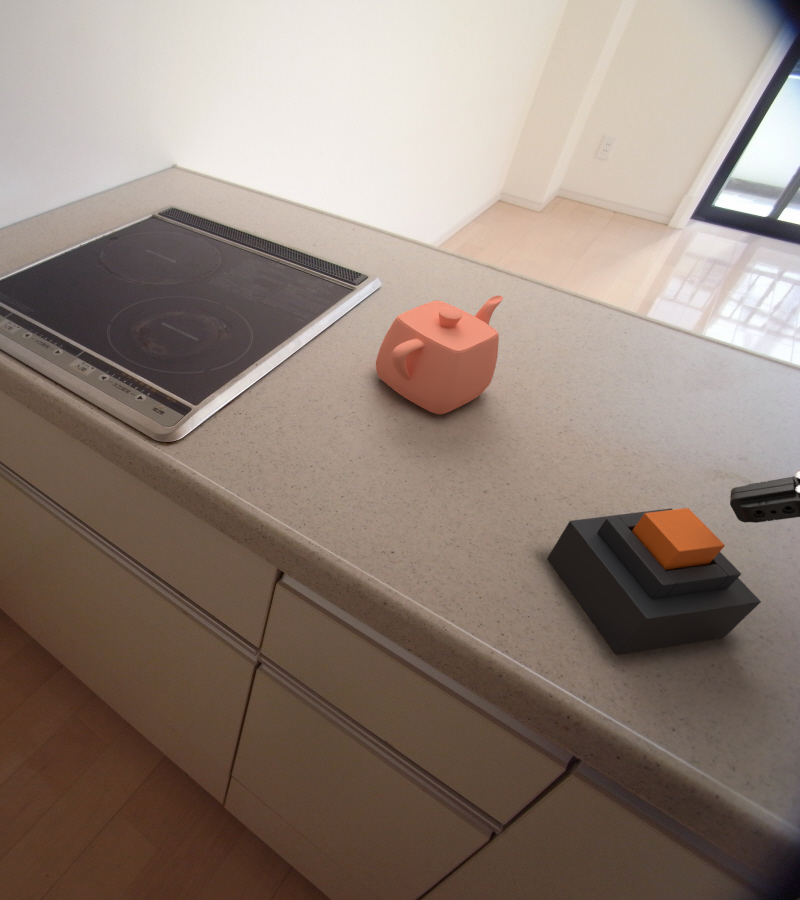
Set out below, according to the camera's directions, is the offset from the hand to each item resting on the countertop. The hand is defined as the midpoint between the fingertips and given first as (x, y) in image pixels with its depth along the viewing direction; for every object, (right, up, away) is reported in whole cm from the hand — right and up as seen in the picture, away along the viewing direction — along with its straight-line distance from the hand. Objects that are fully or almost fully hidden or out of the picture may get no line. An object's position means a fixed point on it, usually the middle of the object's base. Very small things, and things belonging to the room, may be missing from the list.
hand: (734, 506), depth 47 cm
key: (-1, -4, +5) cm, 6 cm away
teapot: (-11, +12, +32) cm, 36 cm away
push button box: (-2, -9, +9) cm, 13 cm away
